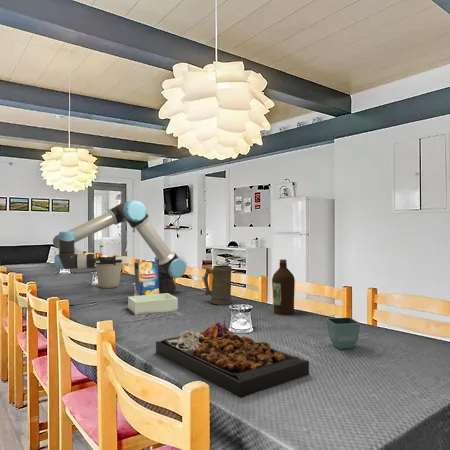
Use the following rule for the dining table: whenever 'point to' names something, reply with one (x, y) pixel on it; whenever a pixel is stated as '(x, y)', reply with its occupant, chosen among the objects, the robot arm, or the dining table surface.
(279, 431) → the dining table surface
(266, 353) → the food platter
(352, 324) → the flower pot
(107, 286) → the canister
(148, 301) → the box
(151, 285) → the beverage box
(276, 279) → the brown bottle
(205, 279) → the beer stein
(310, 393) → the dining table surface
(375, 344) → the dining table surface
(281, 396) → the dining table surface
